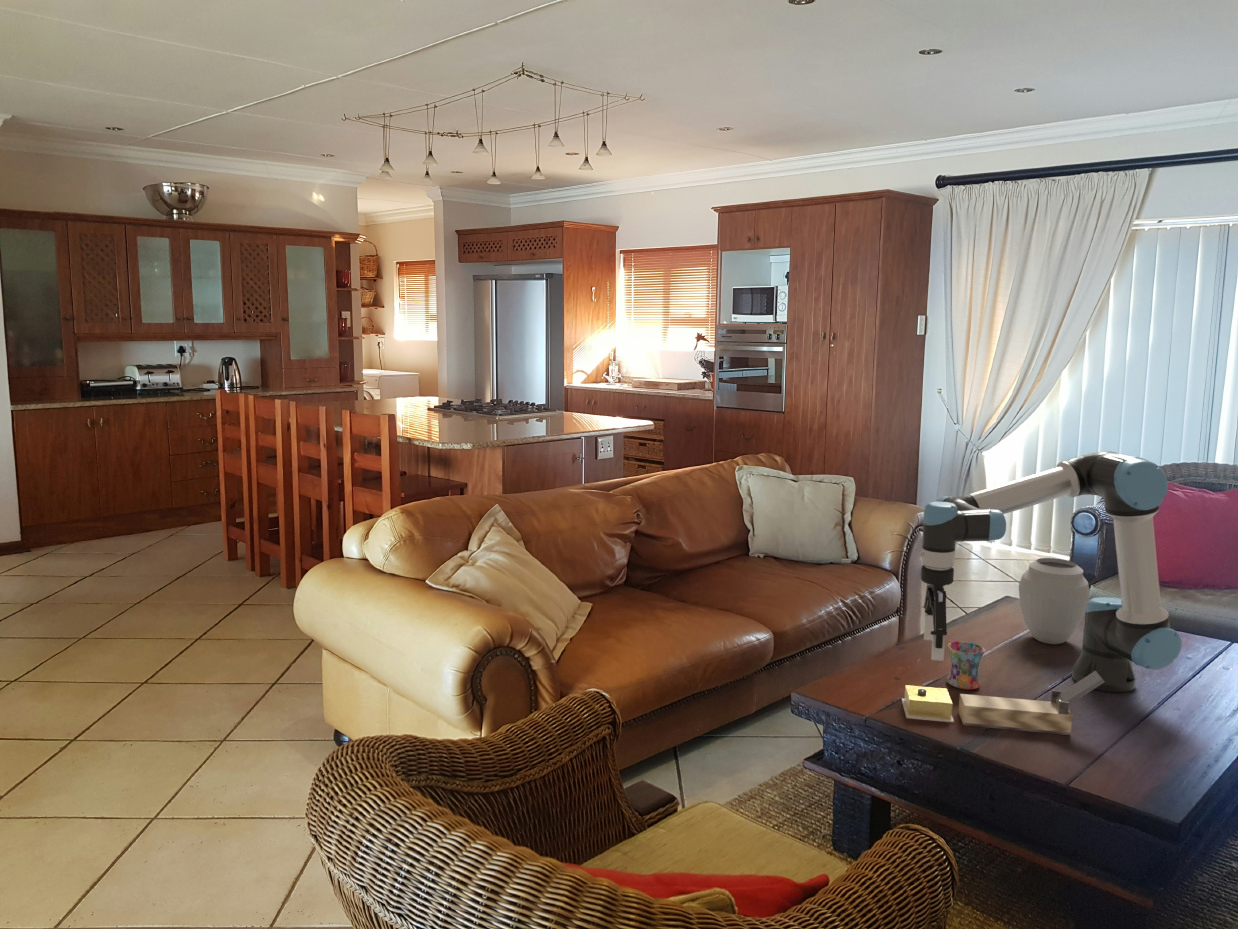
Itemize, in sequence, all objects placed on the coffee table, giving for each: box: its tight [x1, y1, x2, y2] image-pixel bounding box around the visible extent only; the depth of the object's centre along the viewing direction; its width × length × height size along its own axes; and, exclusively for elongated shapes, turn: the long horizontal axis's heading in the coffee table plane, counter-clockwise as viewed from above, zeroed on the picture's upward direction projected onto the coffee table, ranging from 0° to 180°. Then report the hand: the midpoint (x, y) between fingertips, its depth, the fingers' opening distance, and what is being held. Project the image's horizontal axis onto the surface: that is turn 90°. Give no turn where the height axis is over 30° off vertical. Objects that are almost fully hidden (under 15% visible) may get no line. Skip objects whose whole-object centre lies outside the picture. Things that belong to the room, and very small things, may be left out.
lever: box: [1054, 671, 1105, 706], centre depth 216 cm, size 1×5×12 cm
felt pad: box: [901, 697, 955, 723], centre depth 227 cm, size 11×11×1 cm
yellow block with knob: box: [903, 684, 953, 719], centre depth 227 cm, size 10×9×5 cm
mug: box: [946, 640, 986, 690], centre depth 243 cm, size 12×9×11 cm
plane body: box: [957, 689, 1073, 736], centre depth 220 cm, size 24×7×8 cm, turn 79°
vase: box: [1018, 557, 1091, 645], centre depth 276 cm, size 20×20×24 cm
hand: (933, 649), depth 225 cm, fingers open, 13 cm apart
